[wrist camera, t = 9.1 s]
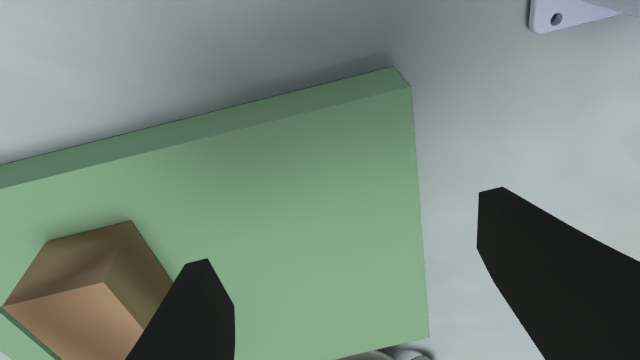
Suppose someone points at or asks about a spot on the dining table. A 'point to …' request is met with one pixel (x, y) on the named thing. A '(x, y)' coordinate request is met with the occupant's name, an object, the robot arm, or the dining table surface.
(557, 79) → the dining table surface
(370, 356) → the ceramic mug
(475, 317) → the dining table surface
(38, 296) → the block
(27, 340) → the putting deck
